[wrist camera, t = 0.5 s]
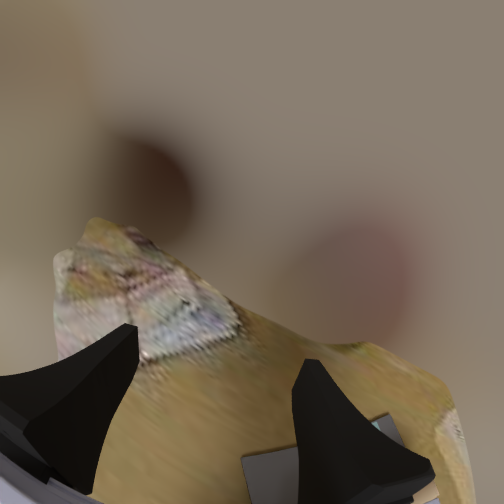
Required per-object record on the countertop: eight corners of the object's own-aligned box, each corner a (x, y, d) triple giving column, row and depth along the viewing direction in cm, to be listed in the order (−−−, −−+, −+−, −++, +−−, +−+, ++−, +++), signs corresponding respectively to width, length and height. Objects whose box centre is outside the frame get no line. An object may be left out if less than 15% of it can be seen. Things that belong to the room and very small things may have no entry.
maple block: (405, 503, 15) (439, 494, 11) (371, 521, 14) (403, 519, 10) (394, 474, 18) (425, 461, 15) (360, 490, 17) (389, 483, 14)
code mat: (424, 502, 14) (427, 501, 14) (270, 567, 10) (271, 568, 10) (387, 415, 25) (390, 413, 25) (240, 458, 21) (241, 457, 21)
